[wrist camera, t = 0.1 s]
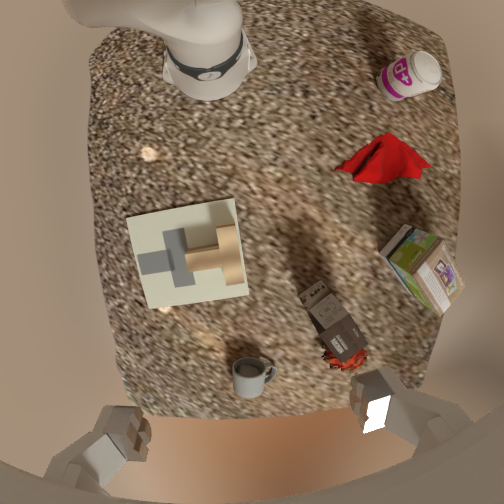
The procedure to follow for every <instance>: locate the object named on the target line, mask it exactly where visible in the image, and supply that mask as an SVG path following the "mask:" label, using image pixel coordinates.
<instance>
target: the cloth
mask: <svg viewBox="0 0 504 504" xmlns="http://www.w3.org/2000/svg"><path fill="white" fill-rule="evenodd" d="M378 146H379V147H378ZM377 147H378V149H377ZM376 149H377V150H376ZM369 156H372V157H371V158H370V159H369V161H368V162H367V163H366V164H365V165H364V166H363V164H364V162H365V161H366V160H367V159H368V158H369ZM362 166H363V167H362ZM361 167H362V168H361ZM421 167H422V168H429V167H431V166H430V165H429V164H428V163H427V162H426V161H425V160H424V159H422V158H421V157H420V156H419V155H418V154H417V153H416V152H415V151H414V150H413V149H411V148H410V147H409V146H408V145H407V144H406V143H405V142H401V141H400V140H399V139H398V138H397V137H395V136H394V135H392V134H390V133H387V132H386V134H385V135H384V136H379V137H377V138H375V140H373V141H372V142H371V143H370V145H368V144H367V145H366V146H365V147H363V148H362V149H360V150H359V151H358V152H357V153H356V154H354V155H353V157H352V158H351V159H350V160H347V161H346V162H344V163H343V164H342V166H341V167H338V168H336V169H335V171H336V170H344V171H346V172H350V173H355V174H356V175H355V177H354V180H353V181H355V182H367V183H375V184H376V183H378V182H379V183H381V184H385V183H387V182H389V181H391V180H393V179H396V178H397V177H398V176H400V177H410V178H419V179H420V178H421V174H422V169H421ZM359 170H360V171H359ZM335 171H334V172H335Z"/></svg>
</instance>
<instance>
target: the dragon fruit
mask: <svg viewBox="0 0 504 504" xmlns="http://www.w3.org/2000/svg"><path fill="white" fill-rule="evenodd" d="M324 356H325V357H324ZM366 356H367V351H364V350H363V348H362V349H361V350H359V351H358V352H357V353H355V354H354V355H353V356H351V357H350V358H349V359H347V360H346V361H344V362H343V363H340V362H339V361H338V359H337V358H336V357H335V355H334V354H333V353H332V352H331V350H330V349H328V350H327V351H325V352H324V355H323V356H321V357H322V358H323V357H324V359H323V360H324V361H326V362H327V363H330V369H336V370H337V369H340V368H341V371H344V370H347V371H350V373H353V371H354V369H356V370H358V369H360V368H361V366H363V364H365V363H366V362H367V357H366ZM334 366H338V368H337V367H334ZM332 367H333V368H332Z"/></svg>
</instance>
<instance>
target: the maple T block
mask: <svg viewBox="0 0 504 504" xmlns="http://www.w3.org/2000/svg"><path fill="white" fill-rule="evenodd" d="M216 232H217V238H218V244H212V245H206V246H200V247H194V248H188V249H187V251H186V253H185V259H186V263H187V268H188V272H195V271H202V270H208V269H214V268H221V267H223V271H224V276H225V282H226V286H229V285H235V284H242V283H245V282H244V275H243V269H242V263H241V256H240V250H239V244H238V238H237V231H236V225H235V222H229V223H223V224H217V227H216Z"/></svg>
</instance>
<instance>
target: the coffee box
mask: <svg viewBox="0 0 504 504" xmlns="http://www.w3.org/2000/svg"><path fill="white" fill-rule="evenodd" d="M299 298H300V300H301V302H302V304H303V306H304V308H305V309H306V311H307V313H308V315H309V317H310V319H311V321H312V323H313V324H314V326H315V328H316V330H317V332H318V334H319V336H320V338H321V339H322V340H323V341H324V343H325V344H326V345H327V347H328V348H329V349H330V350H331V352H332V353H333V354H334V355H335V357H336V358H337V359H338V361H339V362H340V363H343V362H344V361H346V360H347V359H349V358H350V357H351V356H353V355H354V354H355V353H357V352H358V351H359V350H361V349H362V348H363V347H365V346H366V345H368V343H367V341H366V340H365V338H364V336H363V335H362V333H361V331H360V330H359V328H358V327H357V325H356V324H355V322H354V320H353V319H352V317H351V316H350V314H349V313H348V312H347V311H346V310H345V308H344V307H343V306H342V305H341V303H340V302H339V301H338V300H337V298H336V297H335V296H334V295H333V293H332V292H331V291H330V290H329V289H328V287H327V286H326V285H325V284H324V282H323V281H322V280H320V281H318V282H317V283H316V284H314V285H313V286H311V287H310V288H308V289H307V290H305V291H304V292H303V293H301V294H300V295H299Z"/></svg>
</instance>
